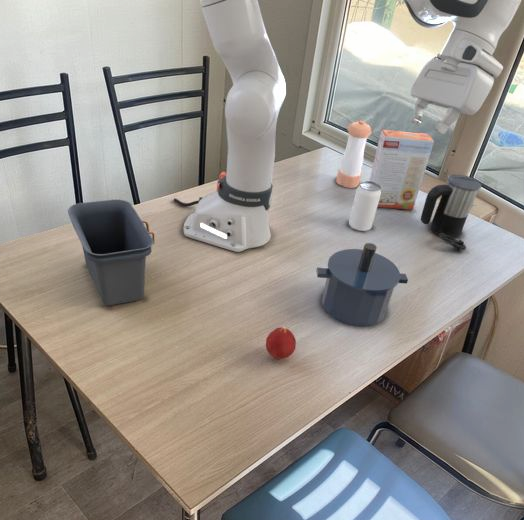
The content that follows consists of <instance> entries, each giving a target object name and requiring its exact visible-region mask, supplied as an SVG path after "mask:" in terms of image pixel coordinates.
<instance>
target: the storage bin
mask: <svg viewBox="0 0 524 520" xmlns="http://www.w3.org/2000/svg"><path fill="white" fill-rule="evenodd" d="M67 213H68V214H67V215H68V216H69V220H70V222H71V225H72V227H73V229H74V232H75V233H76V235H77V238H78V240H79V242H80V244H81V247H82V251H83V255H84V261H85V265H86V268H87V270H88V273H89V275H90V277H91V280H92V282H93V284H94V286H95V288H96V291H97V292H98V295H99V296H100V300H101V303H102V304H103V306H106V307H107V306H115V305H119V304H125V303H130V302H135V301H140V300H142V299H144V297H145V282H146V281H145V278H146V277H145V276H146V260H147V257H148V256H150V255H151V253H152V250H153V249H152V246H153V245H155V233H154V232H153V231H150V227H149V223H148V221H146V220H142V219H141V217H140V216H139V214H138V212H137V211H136V209H135V208H134V206H133V205H132V204H131V202H129V201H127V200H124V199H107V200H98V201H87V202H78V203H75V204H73V205H71V206H70V207H69V208H68V209H67Z"/></svg>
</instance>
